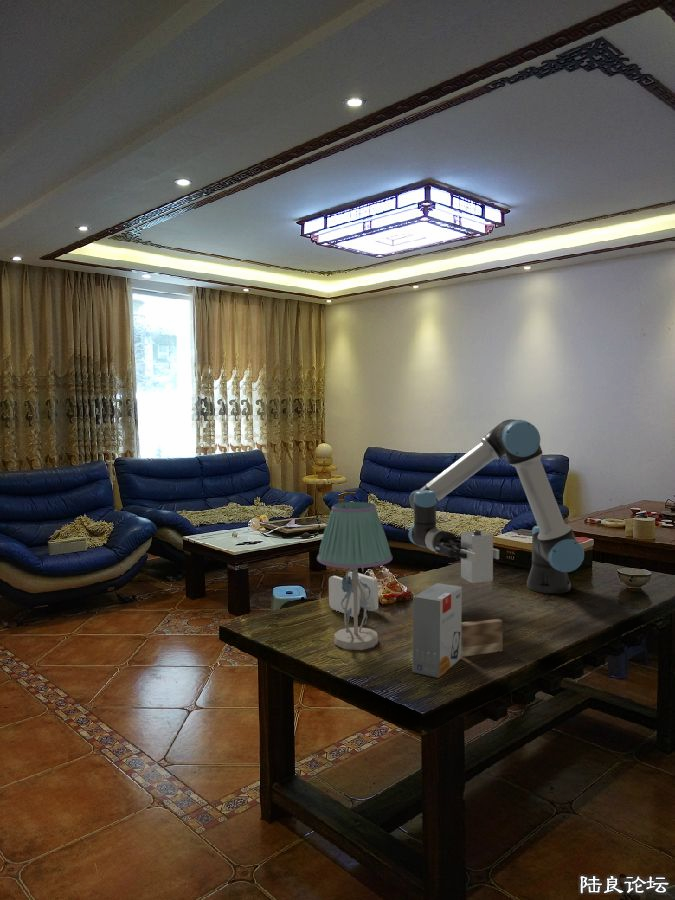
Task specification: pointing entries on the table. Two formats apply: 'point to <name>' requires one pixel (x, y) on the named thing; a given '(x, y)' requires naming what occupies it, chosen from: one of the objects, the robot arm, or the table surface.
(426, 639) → the hard drive box
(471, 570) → the block
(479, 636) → the dock
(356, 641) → the table lamp
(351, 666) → the table surface
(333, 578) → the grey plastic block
